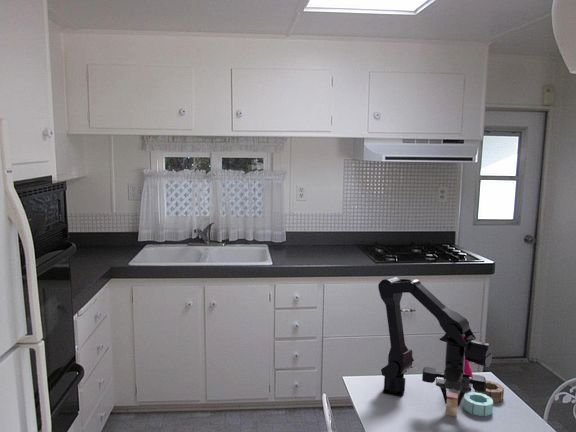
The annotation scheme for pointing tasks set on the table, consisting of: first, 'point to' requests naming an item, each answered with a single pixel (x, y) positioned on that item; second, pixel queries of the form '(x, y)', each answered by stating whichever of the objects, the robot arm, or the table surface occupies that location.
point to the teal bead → (478, 404)
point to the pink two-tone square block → (451, 404)
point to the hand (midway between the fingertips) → (451, 404)
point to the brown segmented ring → (493, 391)
